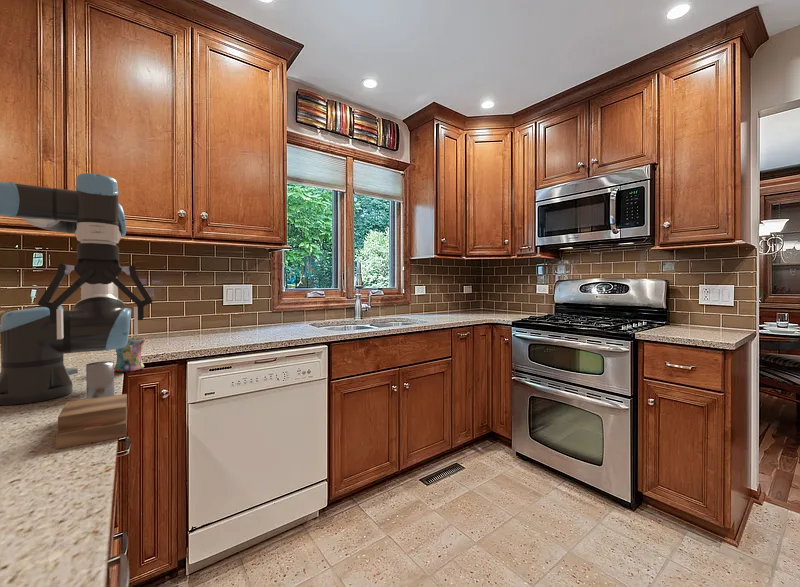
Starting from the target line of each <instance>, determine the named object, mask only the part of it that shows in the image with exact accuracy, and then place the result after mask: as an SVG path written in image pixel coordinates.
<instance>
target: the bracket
mask: <svg viewBox="0 0 800 587" xmlns="http://www.w3.org/2000/svg"><path fill="white" fill-rule="evenodd" d="M65 368H66V367H65ZM66 370H67V372H68V374H69V376H71V375H75V374H78V371H79V370H78V367H77V368H74V367H73V368H71V367H70V368H68V367H67V368H66Z"/></svg>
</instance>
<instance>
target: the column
mask: <svg viewBox="0 0 800 587" xmlns="http://www.w3.org/2000/svg"><path fill="white" fill-rule="evenodd" d="M85 366H86V367H85V369H86V371H85V372H86V373H85V374H86V399H91V398H99V397H106V396H114V395H115V370H114V367H115V361H109V360H106V361H96V362H91V363H90V362H89V363H86V365H85Z"/></svg>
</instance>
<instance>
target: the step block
mask: <svg viewBox="0 0 800 587" xmlns="http://www.w3.org/2000/svg"><path fill="white" fill-rule="evenodd" d="M127 421H128V393H123V394H122V393H121V394H114V396H106V397H99V398H91V399H87V398H85V399H78V400H77V399H76V400H70V401H66V402H65V404H64V406H63V408H62V410H61V412H60V413H59V415H58V416H57V432H56V434H55V449H56V450H59V449H63V448H69V447H74V446H80V445H86V444H90V443H91V442H92V443H97V442H102V441H107V440H113V439H118V438H124V437H127V426H128V422H127ZM92 443H91V444H92Z"/></svg>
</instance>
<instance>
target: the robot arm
mask: <svg viewBox="0 0 800 587" xmlns="http://www.w3.org/2000/svg"><path fill="white" fill-rule="evenodd" d="M118 186H119V185H118V181H117V180H116V179H115V178H113V177H111V176H108V175H104V174H100V173H99V174H98V173H91V172H89V173H88V172H85V173H79V174H78V175H76V184H75V187H74V188H75V190H73V189H63V188H55V187H46V186H40V185H30V184H23V183H16V182H13V181H12V182H11V181H9V182H8V181H6V182H5V181H0V217H7V218H20V219H22V220H23V221H24V222H26V223H27V224H28V225H31V226H33V227H37V228H39V229H43V230H47V231H51V232H57V233H62V234H63V233H64V234H74V235H75V237H76V240H77V241H78V242H80V243H78V244H77V245H76V259H77V260H76V263H75V265H71V264H65V263H59V264H58V265H57V271H56V275H55V276H54V277H53V278H52V280H51V281H50V284H49V286H48V287H47V288H46V289H45V291H44V293H43V294H42V296H41V297H40V299H39V300H38V302H37V306H39V307H32V308H31V307H30V308H25V309H17V310H12V311H8V312H4V313H3V314H2V315H1V317H0V406H12V405H14V406H15V405H24V404H31V403H38V402H44V401H48V400H52V399H53V400H54V399H56V398H60V397H64V396H67V395H69V394H71V393H73V391H74V390H73V389H74V386H73V381H72V378H71V377H70V375H69V374H68V372H67V370H66V366H65V362H64V360H65V359H64V354H73V353H74V354H77V353H86V352H87V353H88V352H89V353H90V352H99V351H105V352H107V351H111V350H116V349H120V348H123V347H125V346H126V345H127V343H128V338H129V334H130V325H131V317H132V309H131V308H127V307H126V306H125V305H126V304H125V303H124V301H122V300H121V299H119V290H120V291H122V293H123V294H125V296H126V297H128V298H129V299H130V300H131V301H132V302H134V304H136V306H133V334H134V335H135V336H136V335H139V321H143V319H144V316H145V315H144V307H145V306H147V305H150V304H152V303H153V300H152V297H151V296H150V295H149V292H148V291H147V290H146V288H145V286H144V285H143V283H142V281H141V280H140V278H139V277H138V275H137V272H136V266H135V265H133V264H132V265H128V266H121V265H120V247H119V246H118V245H117V244H120V241H121V238H123V237H125V236H126V234H127V223H126V216H125V212H124V209H123V206H122V205H121V204H120V203H119V194H120V193H119V188H118ZM72 271H75V273H76V274H77V275H78V276H79V277H78V278H77V279H76V280H75V281H74V283H72V284H70V286H69V287H68V288H67V289H66V290H65V291H63V292H62V293H61V294H60V295H58V297H56V299H54V301H52V302H51V300H52V298H53V296H54V295H55V293H56V291H57V290H58V288H60V285H61V284H62V283H63V281H64V280H65V278H66V276H67V275H70V274H71V272H72ZM122 272H124V273H125V275H126V276H130V279H131V280H132V281H133V283H134V285H135V286H136V288H137V289H138V291H139V293H140V294H141V296H142V298H143V300H141V298H139V297H137V295H135V294H134V293H133V291H131V290H130V289H129V288H128V287H127V286H126V285H125V284H124V283H123V282H122V281H121V280H120V279H119V278H118V276H119V275H120V274H121V273H122ZM79 289H80V300H78V301H77V302H75V304H74V306H73V309H72V310H71V309H69V310H68V309H67V310H64V307H63V306H62V305H63V303H64V302H66V301H67V300H68V299H69V298H70V297H71V296H72V295H73V294H74V293H75V292H76V291H78V290H79Z"/></svg>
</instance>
